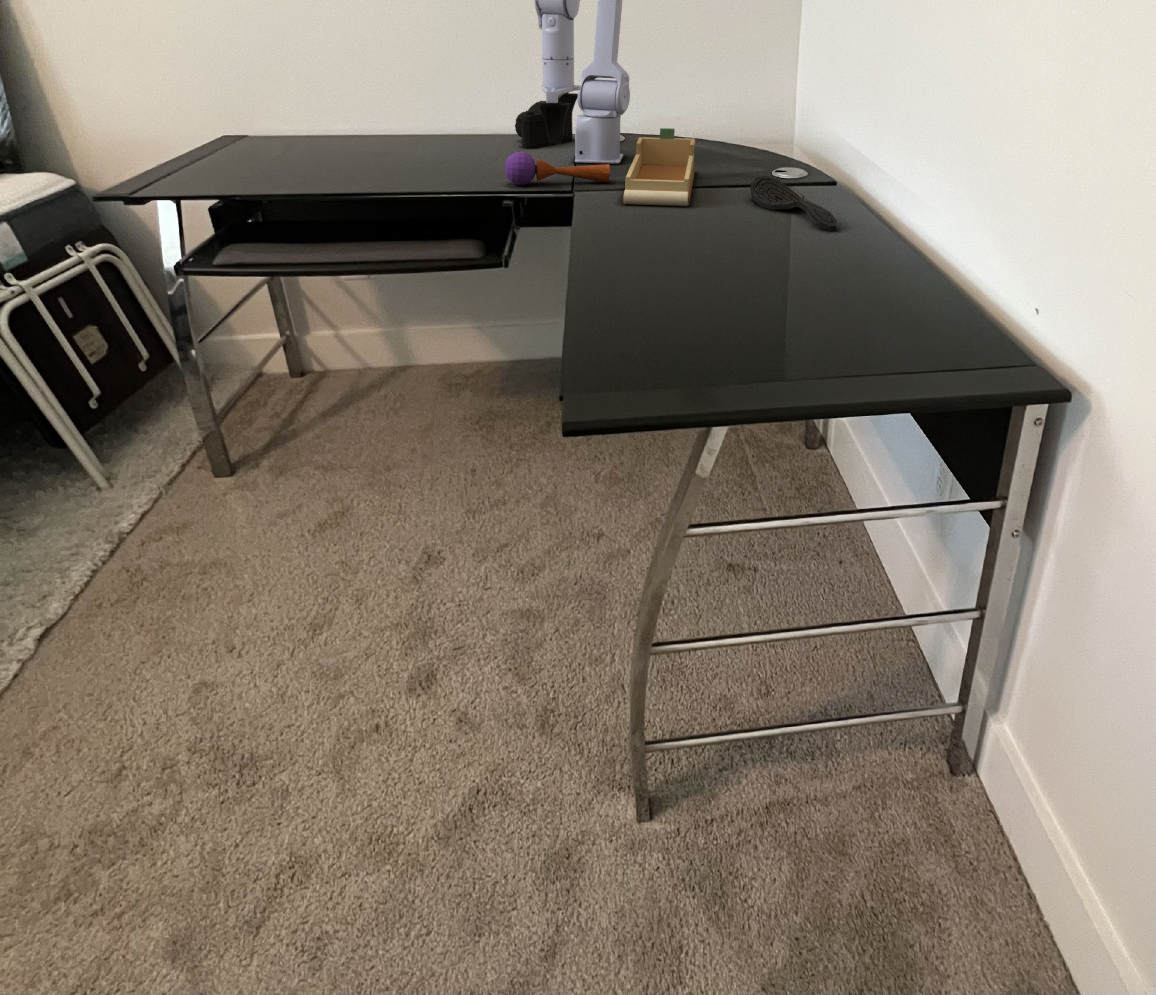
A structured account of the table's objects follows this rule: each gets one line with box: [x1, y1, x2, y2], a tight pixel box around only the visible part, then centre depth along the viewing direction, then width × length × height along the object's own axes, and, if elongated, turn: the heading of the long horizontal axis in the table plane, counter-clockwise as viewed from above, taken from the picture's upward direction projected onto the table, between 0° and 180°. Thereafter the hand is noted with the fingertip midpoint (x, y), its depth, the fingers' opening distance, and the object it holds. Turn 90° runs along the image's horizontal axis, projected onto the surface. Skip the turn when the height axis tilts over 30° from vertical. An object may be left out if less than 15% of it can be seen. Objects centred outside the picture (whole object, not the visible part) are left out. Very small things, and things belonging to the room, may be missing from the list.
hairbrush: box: [749, 171, 838, 232], centre depth 145 cm, size 8×4×25 cm
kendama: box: [504, 151, 611, 186], centre depth 161 cm, size 6×6×20 cm
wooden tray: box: [622, 127, 696, 207], centre depth 157 cm, size 27×12×8 cm, turn 171°
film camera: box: [514, 101, 574, 149], centre depth 194 cm, size 15×10×9 cm, turn 133°
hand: (559, 139), depth 158 cm, fingers open, 7 cm apart
